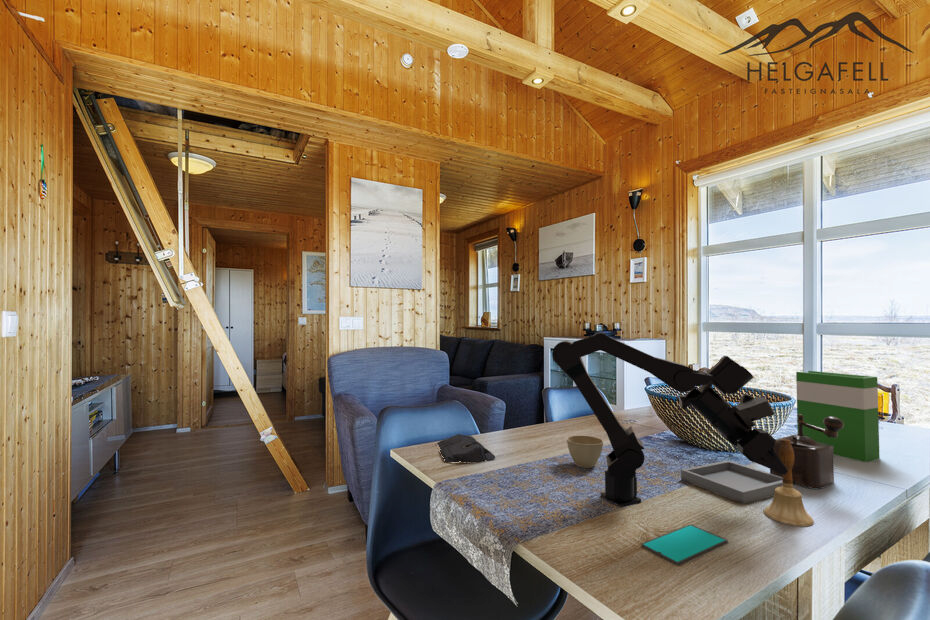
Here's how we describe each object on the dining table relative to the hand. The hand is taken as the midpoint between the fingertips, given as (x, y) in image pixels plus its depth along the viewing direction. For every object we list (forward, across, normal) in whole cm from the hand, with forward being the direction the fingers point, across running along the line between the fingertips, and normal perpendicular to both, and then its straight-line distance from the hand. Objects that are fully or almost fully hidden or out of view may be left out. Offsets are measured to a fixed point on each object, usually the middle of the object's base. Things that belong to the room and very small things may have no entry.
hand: (776, 465), depth 90 cm
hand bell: (+9, 0, +6) cm, 11 cm away
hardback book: (+33, +56, -18) cm, 67 cm away
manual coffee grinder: (+19, +24, -4) cm, 30 cm away
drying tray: (+5, +17, +10) cm, 20 cm away
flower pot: (-20, +22, +35) cm, 46 cm away
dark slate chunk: (-46, +24, +61) cm, 80 cm away
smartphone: (-7, -18, +22) cm, 30 cm away
